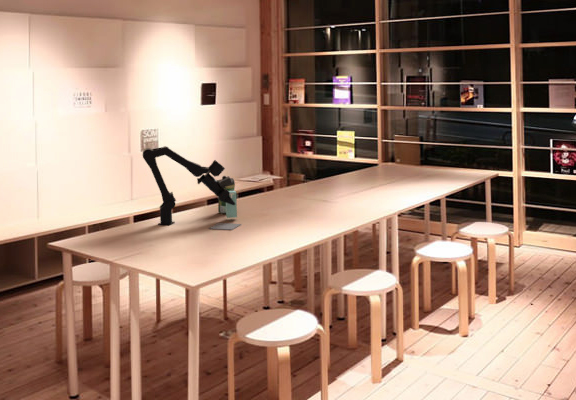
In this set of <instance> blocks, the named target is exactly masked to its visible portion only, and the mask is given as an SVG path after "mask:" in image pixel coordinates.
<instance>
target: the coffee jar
mask: <svg viewBox="0 0 576 400" xmlns="http://www.w3.org/2000/svg"><path fill="white" fill-rule="evenodd" d="M230 179H231V181H232V183H231V184H229V185H227V186H225V187H226V188H224V189H227V190H228V191H235V189H236V188H235V187H236V182H235V179H234V178H233V177H230ZM217 180H218V181H221V180H222V178H221V179H217ZM217 206H218V207H217V211H218V213H219V214H222V215H223V214H225V215H226V202H223V201H220V200H219V199H218V205H217Z"/></svg>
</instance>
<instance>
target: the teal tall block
mask: <svg viewBox="0 0 576 400" xmlns="http://www.w3.org/2000/svg"><path fill="white" fill-rule="evenodd" d="M229 192H230V194H229V196H230V197H231V199H232V200H233V201H234V203H235V205H231V204H229V203H226V214H225V216H226V218H227V219H232V218H238V207H237V205H238V204H237V202H238V201H237V191H236V190H234V191H229Z"/></svg>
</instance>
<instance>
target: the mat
mask: <svg viewBox="0 0 576 400" xmlns="http://www.w3.org/2000/svg"><path fill="white" fill-rule="evenodd" d="M241 225H242V223H228V222H227V223H225V222H218V223H216V224H214V225H212V226H210V227H208V230H219V231H221V230H222V231H233V230H235V229H237V228H238V227H240V226H241Z"/></svg>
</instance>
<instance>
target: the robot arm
mask: <svg viewBox="0 0 576 400" xmlns="http://www.w3.org/2000/svg"><path fill="white" fill-rule="evenodd" d="M163 156H166V157H168V158H170V159H171V160H173V161H175V162H176V163H177V164H179V165H181V166H182V167H184V169H186V170H187V171H188V172H189V173H190V174H191V175H193V177H196V179H197V180H196V181H197V183H196V184H197V185H200V184H201V183H202V184H203V185H204V186H205V187H207V188H208V189H209V191H211V192H212V193H213V194H214V195H215V196H216V197H217V199H218V201H219V200H220V201H223V202H226V203H229V204H231V205H235V203H234V201H233V200H232V199H231V197H230V196H229V194H230V192H229V191H228V190H227V189H224V188H226V187H225V186H227V185H229V184H231V183H232V181H231V179H230V178H231V177H230V176H226V175H223V176H222V177H221V179H222V180H221V181H218V180H219V179H216V177H219V176H220V175H221V174H222V173H223V172H224V171H225V170H226V168H225V167H224V166H223V165H222V164H221V163H220V162H219V161H217V160H216V159H214V160H213V161H212V163H211V164H209V166H202V165H201V164H199V163H196V162H194V161H191V160H189V159H187V158H185V157H184V156H182V155H180V154H179V153H177V152H175V151H174V150H172V149H171V148H169V147H168V146H162V147H157V148H156V147H154V148H150V147H146V148H145V149H144V150H143V151H142V158H143V160H144V161H145V163H146V164H147V165H148V167H149V169H150V172H152V176H153V177H154V180H155V183H156V184H157V187H158V189H159V191H160V194H161V197H162V203H161V204H160V206H159V217H160V219H159V220H160V221H159V222H158V223H157V225H159V226H160V225H161V226H170V225H173V224H175V221H173V213H172V212H173V211H172V210H173V209H174V208H175V207H176V202H177V200H176V197H175V196H174V194H173V191H171V192H170V191H169V189H168V187H167V185H166V183H165V180H164V178H163V175H162V173H161V171H160V167H158V163H157V160H156V158H159V157H163Z"/></svg>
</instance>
